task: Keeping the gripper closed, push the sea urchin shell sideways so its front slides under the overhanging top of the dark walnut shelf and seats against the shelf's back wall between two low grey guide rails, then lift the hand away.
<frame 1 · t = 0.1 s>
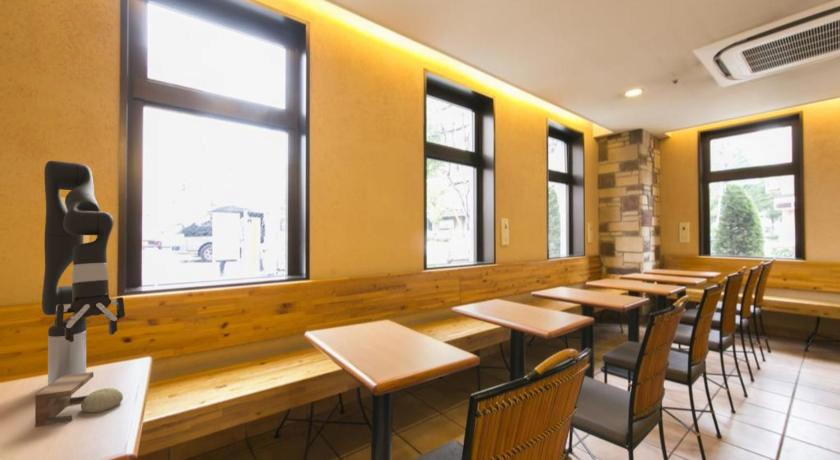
hand: (92, 338, 98), 22 cm above the table, tool pointing down, fingers open, 8 cm apart
sea urchin shell: (102, 407, 104), on the table
shelf: (70, 411, 101), on the table
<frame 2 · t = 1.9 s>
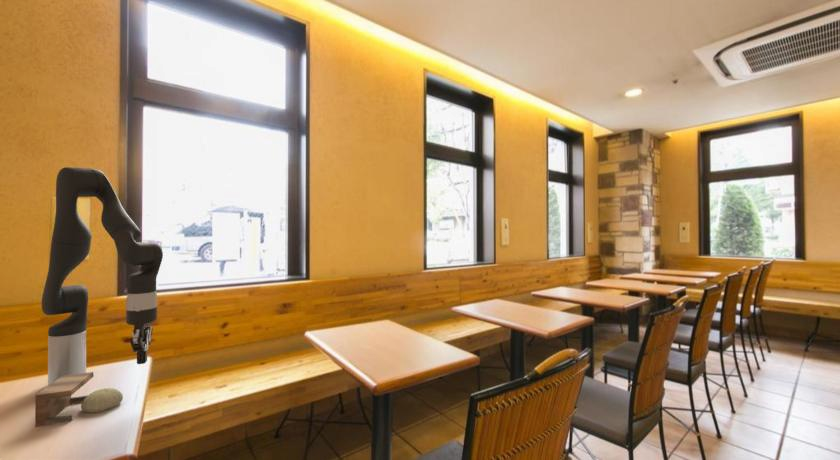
hand: (141, 363, 108), 12 cm above the table, tool pointing down, fingers closed
nothing on the table moved.
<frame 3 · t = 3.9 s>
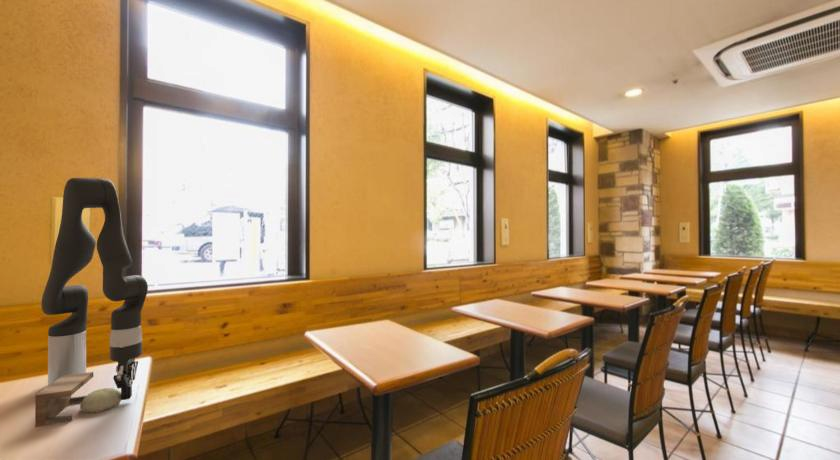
hand: (126, 398, 107), 1 cm above the table, tool pointing down, fingers closed
sea urchin shell: (101, 407, 104), on the table, touching gripper
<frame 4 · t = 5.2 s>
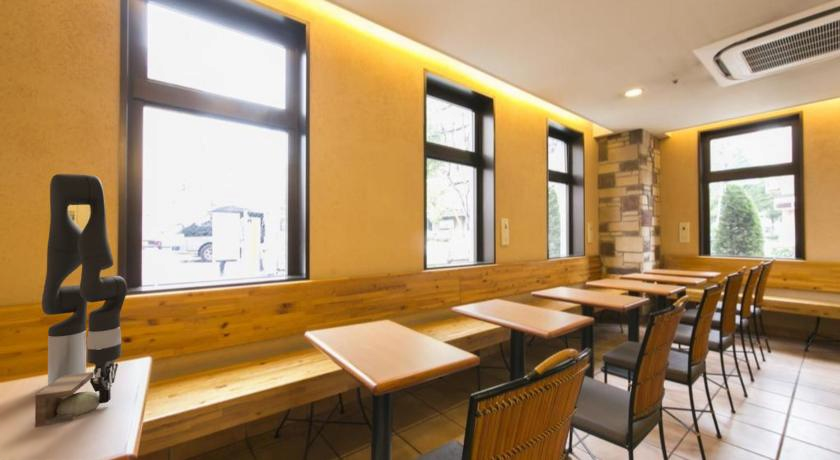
hand: (104, 401, 104), 1 cm above the table, tool pointing down, fingers closed
sea urchin shell: (79, 411, 102), on the table, touching gripper
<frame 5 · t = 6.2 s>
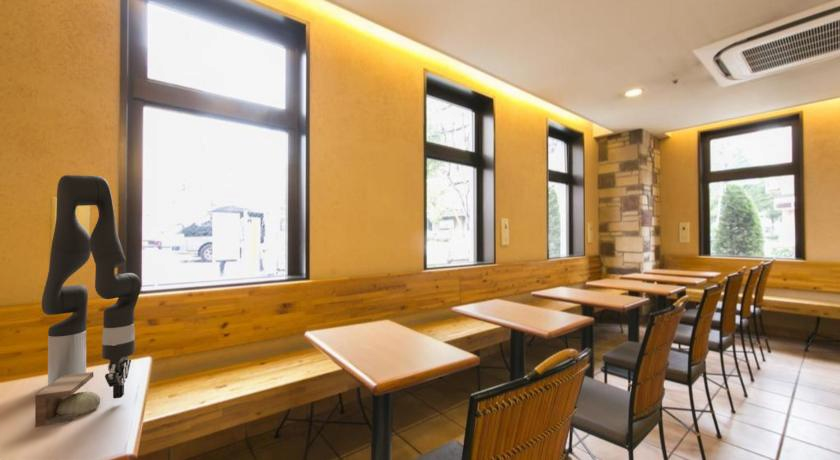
hand: (118, 397, 106), 2 cm above the table, tool pointing down, fingers closed
sea urchin shell: (79, 411, 102), on the table
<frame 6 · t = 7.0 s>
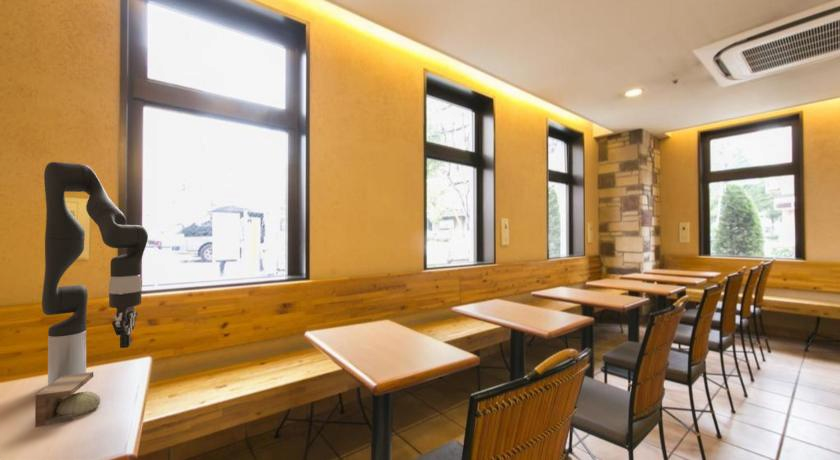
hand: (125, 347, 107), 17 cm above the table, tool pointing down, fingers closed
nothing on the table moved.
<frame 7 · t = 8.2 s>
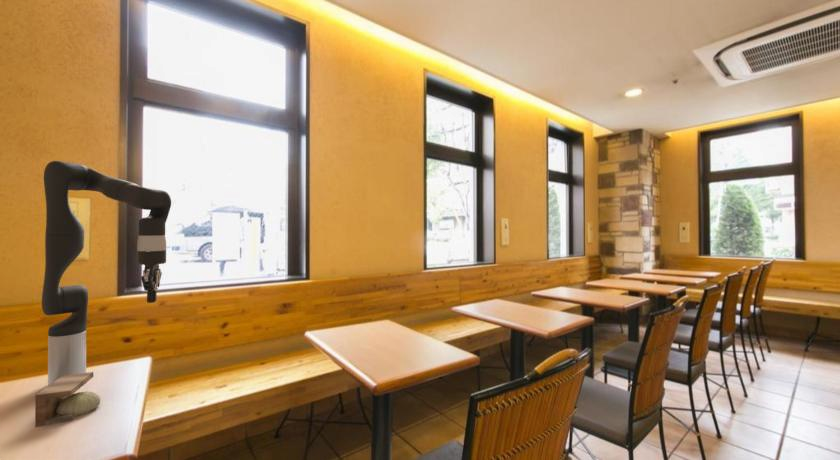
hand: (151, 302, 115), 29 cm above the table, tool pointing down, fingers closed
nothing on the table moved.
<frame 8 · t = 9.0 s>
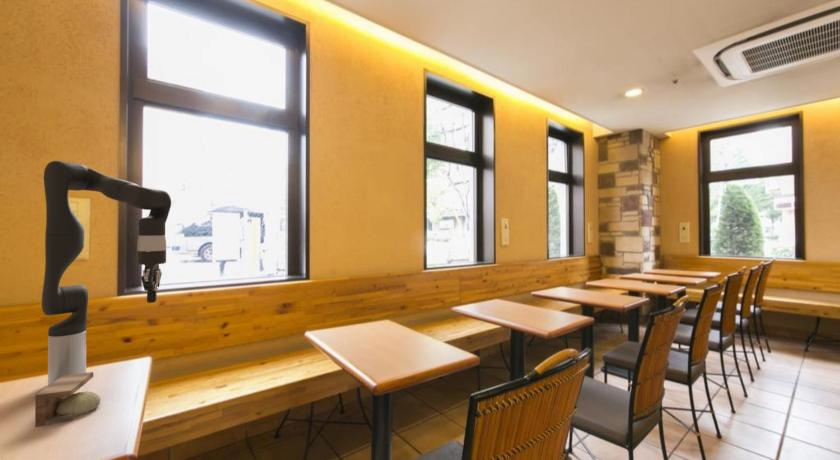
hand: (151, 302, 115), 29 cm above the table, tool pointing down, fingers closed
nothing on the table moved.
at the end: sea urchin shell 0.4 cm from the target spot, on the table; sea urchin shell moved 5.2 cm from its start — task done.
